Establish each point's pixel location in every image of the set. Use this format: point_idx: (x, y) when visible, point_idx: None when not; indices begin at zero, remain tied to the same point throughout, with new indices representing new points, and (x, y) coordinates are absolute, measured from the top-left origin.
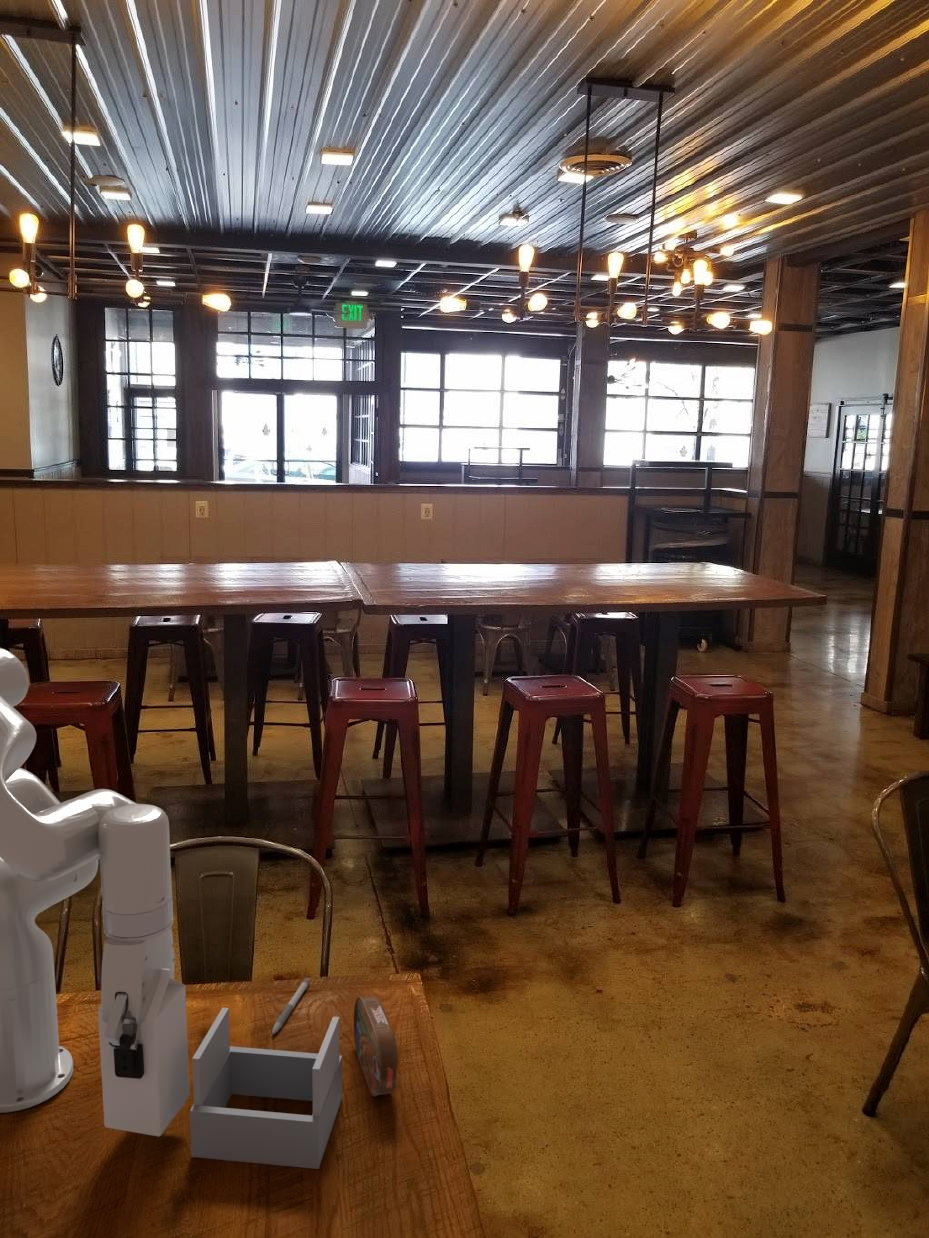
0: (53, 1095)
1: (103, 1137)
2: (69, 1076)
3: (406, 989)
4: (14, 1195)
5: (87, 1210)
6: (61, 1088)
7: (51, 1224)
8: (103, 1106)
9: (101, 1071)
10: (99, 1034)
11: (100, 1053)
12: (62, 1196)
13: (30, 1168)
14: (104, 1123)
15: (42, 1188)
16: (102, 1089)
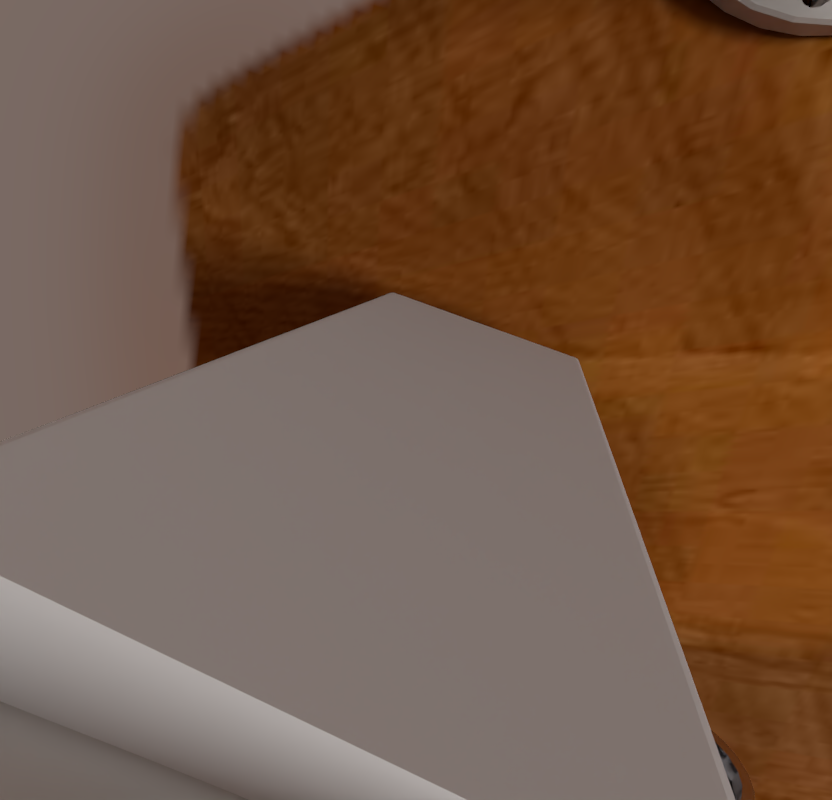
0: (713, 2)
1: (463, 264)
2: (820, 30)
3: None
4: (261, 71)
5: (228, 287)
6: (749, 22)
7: (187, 213)
8: (370, 300)
9: (302, 326)
10: (138, 389)
11: (246, 348)
12: (263, 212)
13: (355, 75)
14: (390, 293)
15: (285, 146)
16: (344, 310)
